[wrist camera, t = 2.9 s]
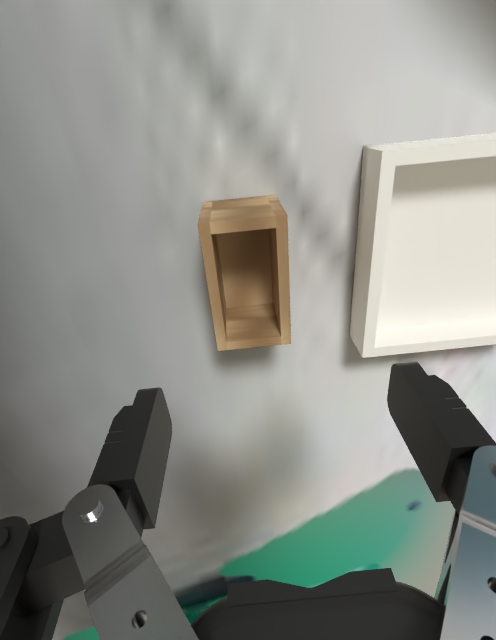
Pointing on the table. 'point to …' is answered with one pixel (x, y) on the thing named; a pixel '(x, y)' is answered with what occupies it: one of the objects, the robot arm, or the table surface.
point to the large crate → (426, 246)
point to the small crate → (247, 271)
